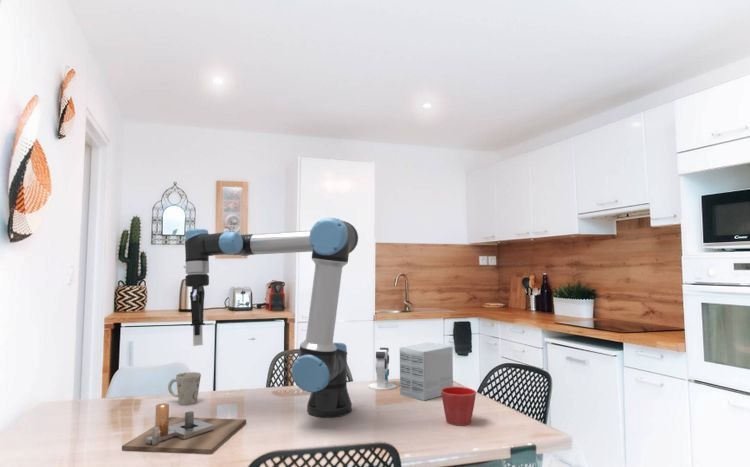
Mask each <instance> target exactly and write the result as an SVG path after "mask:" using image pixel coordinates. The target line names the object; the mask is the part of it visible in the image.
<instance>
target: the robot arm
mask: <svg viewBox="0 0 750 467" xmlns="http://www.w3.org/2000/svg"><path fill="white" fill-rule="evenodd" d="M358 243H359V234H358V232H357V229H356V228H355V226H354V225H352V224H351V223H350V222H348V221H344V220H342V219H340V218H336V217H324V218H322V219H320V220H318V221H317V222H315V223H314V224H313V226H312V227H311V229H310V230H297V231H294V230H293V231H282V232H281V231H280V232H265V233H249V234H248V233H247V234H240V233H239V232H237V231H229V230H228V231H223V232H216V233H209V230H208V229H205V228H190V229H187V230H186V231H185V240H184V250H185V253H184V254H185V264H184V265H183V268H184V269H185V274H187V275H185V278H184V280H185V283H184V284H185V287H188V288H191V291H190V292H189V294H190V296H189V298H190V311H191V312H190V314H191V323H190V326H191V327H192V342H193V345H192V346H193V347H194V346H204V345H203V344H204V343H203V341H204V340H203V326H204V325H206V323H205V322H204V308H205V306H204V305H205V303H204V302H205V291H203V287H206V286H209V284H210V275H209V274H208V273H210V262H209V260H210V259H209V257H212V256H223V255H225V256H242V257H243V256H244V257H249V256H254V255H273V254H275V255H276V254H291V253H292V254H293V253H310V252H311V261H312V262H314V265H315V266H314V274H313V281H312V288H311V296H310V303H309V304H310V305H309V313H308V320H307V327H306V328H307V329H306V335H305V340H304V341H302V342H301V343H300V345H299V352H298V357H297V358H296V360H295V361H294V362H293V364H292V366H291V367H292V368H291V378H292V380H293V382H294V383H295V385H296V386H297V387H298V388H299V389H301V390H302V391H304V392H305V393H310V395H309V398H308V402H307V405H306V412H307V414H309V415H311V416H314V417H318V418H336V417H338V418H339V417H342V416H346V415H348V414H350V413H351V412H352V410H353V407H352V405H353V403H352V400H351V397H350V394H349V391H348V388H347V382H348V381H347V379H348V376H347V373H348V371H347V370H348V366H347V364H348V362H347V360H348V359H347V358H348V350H347V349H348V348H347V345H346V344H345V343H343V342H334V336H335V327H336V320H337V311H338V304H339V297H340V289H341V282H342V273H343V267H344V266H346V265H347V264H348V262H349V257H350V256H349V255H350V254H351V253H352V252H353V251H354V250H355V249H356V247H357V246H358Z"/></svg>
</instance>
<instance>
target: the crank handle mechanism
mask: <svg viewBox="0 0 750 467" xmlns="http://www.w3.org/2000/svg"><path fill="white" fill-rule="evenodd" d="M169 418H170V403H166V402H165V403H159V404H156V405H155V419H154V420H155V424H154V427H159V441H162V440H166V439H169V438H172V437H175V436H176V437H179V438H182V439H186V438H189V437H192V436H195V435H198V434H201V433H204V432H207V431H210V430H214V425H213V424H209V423H206V422H203V421H200V420H196V419H194V428H191V429H185V422H181V423H178V424H175V425H171V426H169ZM145 442H146V443H148V444H152V436H150V437H147V438H145Z"/></svg>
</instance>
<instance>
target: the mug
mask: <svg viewBox="0 0 750 467" xmlns="http://www.w3.org/2000/svg"><path fill="white" fill-rule="evenodd" d="M201 376H202V374H201V373H200V372H197V371H191V372H190V371H189V372H188V371H187V372H182V373H178V374H176V375H175V378H172V379H171V380H170V381H169V382H168V385H167V390H168V393H169V394H170V395H172V397H174V398H178V404H179V405H182V406H187V405H188V406H190V405H193V404H196V403H197V401H198V397H199V389H200V382H201ZM174 383H176V389H177V394H176V393H174V391H173V390H172V389H173V388H172V386H173V384H174Z"/></svg>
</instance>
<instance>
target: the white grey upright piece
mask: <svg viewBox="0 0 750 467" xmlns="http://www.w3.org/2000/svg"><path fill="white" fill-rule="evenodd" d="M389 350H390V348H389V347H379V349H378V350H376V352H375V373H376V382H372V383H369V384H368V388H369V389H372V390H375V391H376V390H377V391H390V390H394V389H395V388H397V385H396V384H395V383H392V382H389V375H390V369H389V364H390V354H389Z"/></svg>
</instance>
